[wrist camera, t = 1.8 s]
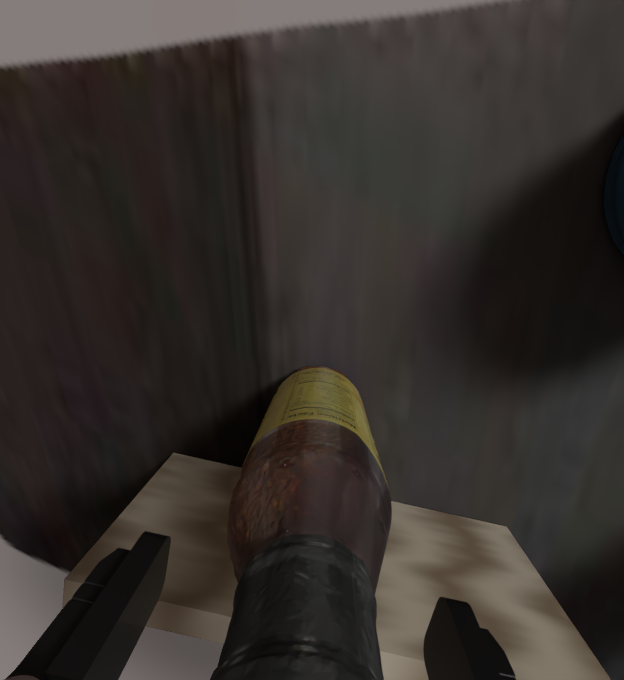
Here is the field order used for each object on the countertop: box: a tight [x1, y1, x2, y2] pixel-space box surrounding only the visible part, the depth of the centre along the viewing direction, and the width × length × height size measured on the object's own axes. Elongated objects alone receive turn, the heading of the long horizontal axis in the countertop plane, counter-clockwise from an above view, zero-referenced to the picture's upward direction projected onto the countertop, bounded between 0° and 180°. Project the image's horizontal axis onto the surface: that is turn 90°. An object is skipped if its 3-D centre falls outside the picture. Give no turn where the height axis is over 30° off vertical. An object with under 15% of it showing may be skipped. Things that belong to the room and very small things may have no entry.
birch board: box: [63, 453, 611, 680], centre depth 21 cm, size 26×2×11 cm, turn 78°
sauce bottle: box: [210, 366, 392, 680], centre depth 15 cm, size 7×6×20 cm
